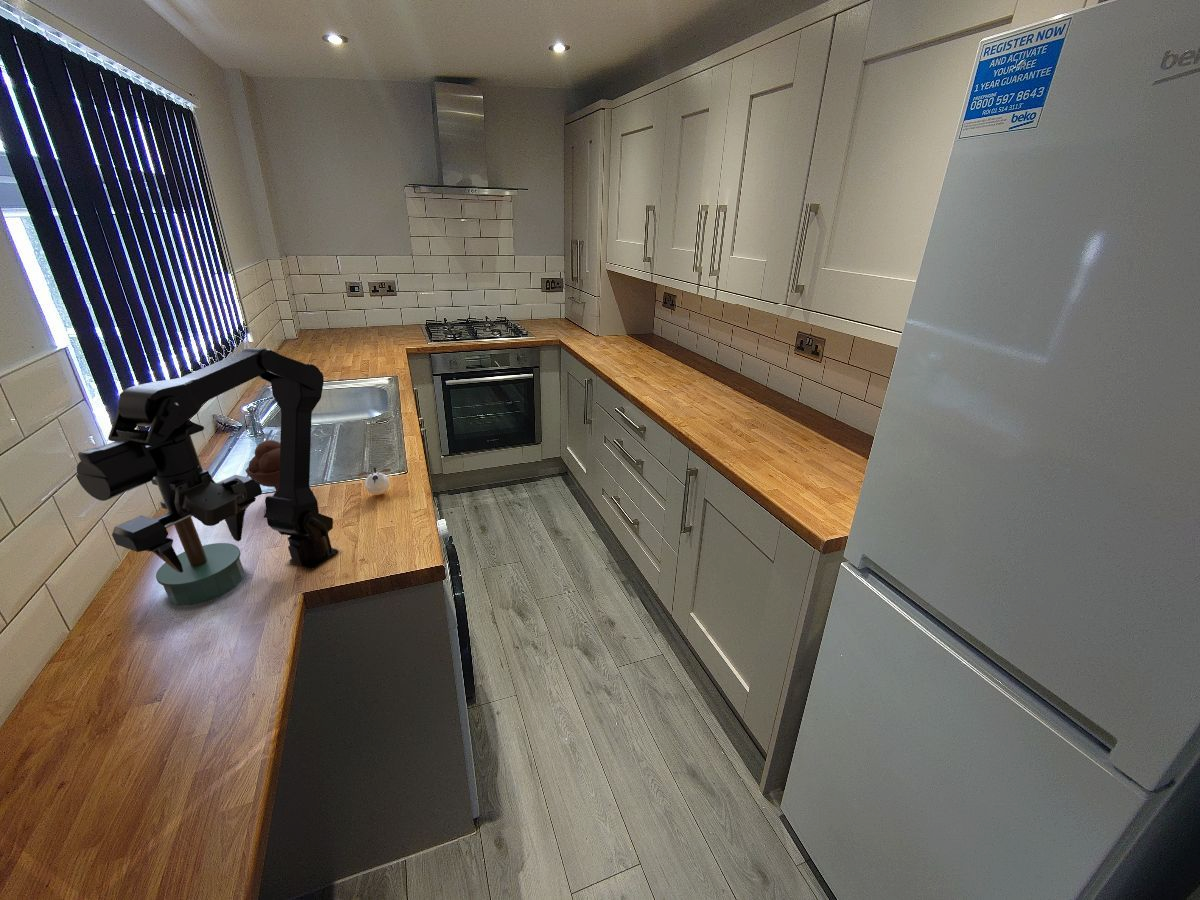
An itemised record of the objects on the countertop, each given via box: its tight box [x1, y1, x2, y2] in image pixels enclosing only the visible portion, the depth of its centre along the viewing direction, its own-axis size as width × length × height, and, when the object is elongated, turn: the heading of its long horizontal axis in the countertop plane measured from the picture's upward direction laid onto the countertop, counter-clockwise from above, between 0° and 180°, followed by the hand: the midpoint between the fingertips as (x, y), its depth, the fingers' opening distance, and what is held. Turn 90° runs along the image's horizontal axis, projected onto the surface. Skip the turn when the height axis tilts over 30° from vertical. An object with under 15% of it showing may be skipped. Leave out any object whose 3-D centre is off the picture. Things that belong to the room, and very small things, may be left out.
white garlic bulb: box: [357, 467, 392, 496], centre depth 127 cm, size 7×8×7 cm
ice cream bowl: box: [245, 439, 280, 491], centre depth 125 cm, size 11×11×15 cm
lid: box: [155, 516, 241, 587], centre depth 93 cm, size 13×13×13 cm
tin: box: [163, 558, 246, 606], centre depth 97 cm, size 12×12×5 cm
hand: (210, 555), depth 85 cm, fingers open, 9 cm apart
